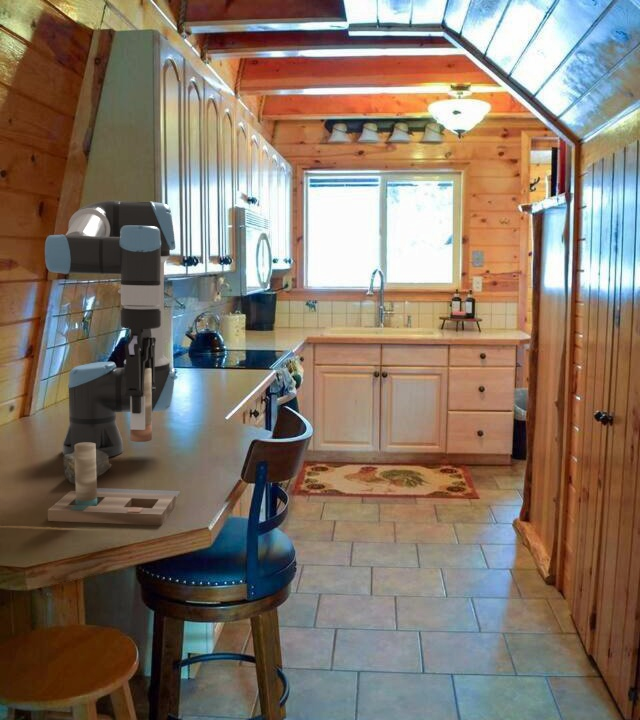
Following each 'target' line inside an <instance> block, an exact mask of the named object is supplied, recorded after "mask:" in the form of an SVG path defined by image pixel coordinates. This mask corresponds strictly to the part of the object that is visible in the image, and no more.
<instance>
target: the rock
mask: <svg viewBox="0 0 640 720" xmlns="http://www.w3.org/2000/svg"><path fill="white" fill-rule="evenodd" d="M109 458H110V457H108V455H107V454H106V453H104V452H103V451H99V450H96V478H98V477H99V476H101V475H103V474H104V473H106V472H107V471H108V470H110V468H111V467H112V463H110V462H109ZM62 460H63V464H62V465H63V468H64V471H63V473H64V475H65V477H66V478H67V480H68V481H69V482H70V483H71V484H74V485H76V483H75V451H74V452H73V453H72V454H66V455H63V459H62Z"/></svg>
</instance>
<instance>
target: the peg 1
mask: <svg viewBox="0 0 640 720" xmlns="http://www.w3.org/2000/svg"><path fill="white" fill-rule="evenodd" d="M74 448H75V483H76V484H75V491H76V505H86V506H97V488H98V484H97V483H98V482H97V481H98V480H97V478H98V477H96V444H95V443H91V442H83V443H78V444H75V445H74Z"/></svg>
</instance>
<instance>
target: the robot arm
mask: <svg viewBox="0 0 640 720" xmlns="http://www.w3.org/2000/svg"><path fill="white" fill-rule="evenodd" d="M172 217H173V216H172V212H171V208H170V206H169V205H168V204H166V203H162V202H157V201H135V200H134V201H133V200H132V201H131V200H130V201H129V200H112V199H111V200H102V201H96V202H92V203H90V204H87V205H84V206H82V207H80V208H79V209H77V210H76V211H75V212H74V213H73V214H72V216H71V217H70V218H69V221H68V226H67V227H68V231H67V232H66V233H65V234H62V233H61V234H52V235H51V234H50V235H48V236H47V237H46V240H45V242H44V243H45V244H44V259H45V260H44V261H45V267H46V269H47V270H48V271H49V272H50V273H55V274H56V273H58V274H63V275H68V274H81V275H82V274H85V275H87V274H89V275H90V274H91V275H94V274H96V275H97V274H98V275H99V274H100V275H120V288H119V289H118V290H117V293H118V294H119V295H120V305H122V308H121V309H120V326H121V328H123V329H129V337H128V339H127V343H125V344H124V352H125V359H124V361H123V367H117V365H116V363H115V362H114V361H99V362H91V363H84V364H82V365H81V364H80V365H77V366H74V367H73V368H72V369H71V370H70V371H69V372H68V385H67V388H68V417H69V418H68V420H69V421H68V424H69V425H68V426H67V430H66V434H65V437H64V440H63V443H62V454H63V456H64V455H66V454H72V453H73V452H74V451H75V448H74V445H75V444H78V443H83V442H91V443H95V444H96V450H99V451H103V452H104V453H106V454H107V455H108V457H109V458H110V457H114V456H118V455H121V453H123V452H124V443H123V442H124V441H123V439H122V435H121V433H120V429H119V427H118V425H117V413H130V414H129V416H130V417H129V418H130V419H129V423H130V424H129V425H130V428H129V429H131V430H145V396H143V395H144V373H145V368H151V402H152V413H155V412H165V411H168V410H169V409H170V407H171V404H172V399H173V394H174V387H175V376H176V368H175V367H172V366H170V365H171V364H170V362H171V361H170V359H168V357H166V356H165V354H164V352H165V351H164V348H165V347H164V344H165V343H164V341H165V340H164V339H165V338H164V337H165V335H164V332H165V331H164V328H165V326H164V325H165V324H164V322H165V321H164V319H165V318H164V317H165V314H164V311H165V310H164V309H165V307H164V305H165V303H164V300H165V296H164V294H165V293H164V292H165V289H164V286H165V281H164V280H165V279H164V278H165V274H164V272H165V271H164V266H165V262H166V261H167V260H168V259H169V258H170V256H171V255H170V253H171V251H173V250H175V249H176V241H175V232H174V230H175V229H174V225H173V218H172Z"/></svg>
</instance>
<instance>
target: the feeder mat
mask: <svg viewBox="0 0 640 720" xmlns="http://www.w3.org/2000/svg"><path fill="white" fill-rule="evenodd" d="M97 492H115V493H141V494H168V495H176V498H177V497H178V496H179V495H180V493H181V492H182V491H181V490H163V489H160V490H159V489H156V490H155V489H137V488H133V489H131V488H111V487H110V488H108V487H107V488H106V487H105V488H104V487H97Z"/></svg>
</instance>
